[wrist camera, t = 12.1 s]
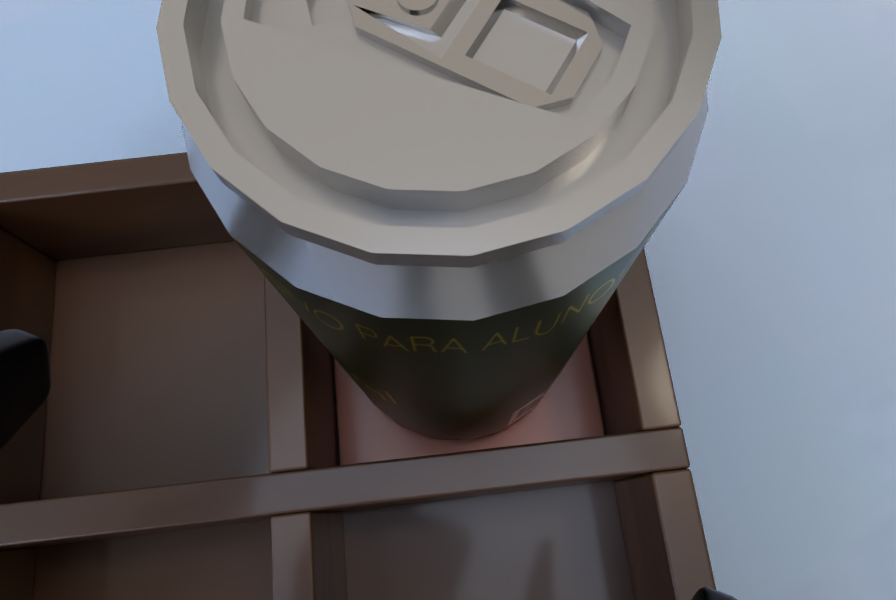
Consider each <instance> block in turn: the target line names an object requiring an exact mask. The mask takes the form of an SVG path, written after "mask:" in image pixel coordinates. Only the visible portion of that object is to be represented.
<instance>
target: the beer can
mask: <svg viewBox="0 0 896 600" xmlns="http://www.w3.org/2000/svg"><path fill="white" fill-rule="evenodd" d="M156 28H157V34H158V39H159V45H160V51H161V56H162V62H163V68H164V74H165V79H166V85H167V91H168V96H169V101H170V103H171V104H172V106H173V107H174V109H175V111H176V112H177V114H178V115H179V117H180V119H181V121H182V127H183V132H184V138H185V144H186V149H187V155H188V160H189V166H190V170H191V172H192V173H193V175H194V177H195V178H196V180H197V182H198V183H199V185H200V187H201V188H202V190H203V191H204V193H205V195H206V196H207V198H208V200H209V201H210V203H211V205H212V206H213V208H214V209H215V211H216V213H217V214H218V216H219V218H220V219H221V221H222V223H223V224H224V226H225V227H226V229H227V231H228V232H229V234H230V236H231V237H232V238H233V239H234V240H235V241H236V243H237V244H238V245H239V246H240V247H241V249H242V250H243V251H244V252H245V253H246V254H247V256H248V257H249V258H250V259H251V260H252V261H253V263H254V264H255V265H256V266H257V267H258V269H259V270H260V271H261V272H262V273H263V274H264V276H265V277H266V278H267V279H268V280H269V281H270V283H271V284H272V285H273V286H274V287H275V288H276V290H277V291H278V292H279V293H280V294H281V296H282V297H283V298H284V299H285V300H286V301H287V303H288V304H289V305H290V306H291V307H292V308H293V310H294V311H295V312H296V313H297V314H298V316H299V317H300V318H301V319H302V320H303V321H304V323H305V324H306V325H307V326H308V327H309V328H310V330H311V331H312V332H313V333H314V334H315V336H316V337H317V338H318V339H319V340H320V341H321V343H322V344H323V345H324V346H325V347H326V348H327V350H328V351H329V352H330V353H331V354H332V355H333V357H334V358H335V359H336V360H337V361H338V363H339V364H340V365H341V366H342V367H343V368H344V370H345V371H346V372H347V373H348V374H349V375H350V377H351V378H352V379H353V380H354V381H355V383H356V384H357V385H358V386H359V387H360V388H361V390H362V391H363V392H364V393H365V394H366V395H367V397H368V398H369V399H370V400H371V401H372V403H373V404H374V405H376V406H377V407H378V408H379V409H381V410H382V411H383V412H384V413H386V414H387V415H388V416H389V417H390V418H392V419H393V420H394V421H395V422H397V423H398V424H399V425H400V426H403V427H405V428H408V429H410V430H413V431H416V432H418V433H421V434H424V435H426V436H429V437H432V438H439V439H463V440H471V439H474V438H478V437H481V436H485V435H488V434H492V433H495V432H499V431H502V430H505V429H506V428H508V427H509V426H511V425H512V424H513V423H515V422H516V421H518V420H519V419H521V418H522V417H524V416H525V415H527V414H528V413H530V412H531V411H532V410H534V408H535V407H536V406H537V404H538V403H539V402H540V400H541V399H542V398H543V396H544V395H545V394H546V392H547V391H548V390H549V388H550V387H551V386H552V384H553V383H554V382H555V380H556V379H557V377H558V376H559V374H560V373H561V371H562V370H563V368H564V367H565V365H566V364H567V362H568V361H569V359H570V358H571V356H572V355H573V353H574V352H575V350H576V348H577V347H578V345H579V344H580V342H581V341H582V339H583V338H584V336H585V335H586V333H587V332H588V330H589V329H590V327H591V326H592V324H593V323H594V321H595V320H596V318H597V317H598V315H599V314H600V312H601V311H602V309H603V308H604V306H605V305H606V303H607V302H608V300H609V299H610V297H611V296H612V294H613V293H614V291H615V290H616V288H617V287H618V285H619V284H620V282H621V281H622V279H623V278H624V276H625V275H626V273H627V272H628V270H629V269H630V267H631V266H632V264H633V263H634V261H635V260H636V258H637V257H638V255H639V253H640V252H641V250H642V249H643V247H644V246H645V244H646V243H647V241H648V240H649V238H650V237H651V235H652V234H653V232H654V231H655V229H656V228H657V226H658V225H659V223H660V222H661V220H662V219H663V217H664V216H665V214H666V213H667V211H668V210H669V208H670V207H671V205H672V204H673V202H674V201H675V199H676V198H677V196H678V195H679V193H680V192H681V190H682V189H683V187H684V186H685V184H686V183H687V180H688V176H689V173H690V170H691V166H692V163H693V160H694V156H695V153H696V149H697V146H698V143H699V139H700V136H701V133H702V129H703V126H704V123H705V119H706V116H707V112H708V100H707V88H706V87H707V83H708V80H709V77H710V73H711V70H712V67H713V63H714V60H715V57H716V53H717V50H718V47H719V43H720V40H721V28H720V18H719V7H718V0H162V3H161V8H160V13H159V18H158V22H157V27H156Z"/></svg>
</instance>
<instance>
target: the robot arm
mask: <svg viewBox="0 0 896 600" xmlns="http://www.w3.org/2000/svg"><path fill="white" fill-rule="evenodd" d="M50 389H51V375H50V361H49V348H48V344H47V343H46V341H45V340H44V339H43V338H42V337H40V336H37V335H34V334H32V333H29V332H26V331H24V330H20V329H8V330H3V331H0V451H1V450H2V449H3V448H4V447H5V445H6V444H7V443H8V442H9V441H10V440H11V439H12V438H13V437H14V436H15V434H16V433H17V432H18V431H19V430H20V429H21V428H22V427H23V426H24V425H25V423H26V422H27V421H28V420H29V419H30V418H31V417H32V416H33V415H34V414H35V413H36V411H37V410H38V409H39V408H40V407H41V406H42V405H43V403H44V402H45V401H46V399H47V397H48V395H49V393H50ZM691 600H737V599H736V598H734V597H732V596H730V595H727V594H724V593H722V592H719V591H716V590H714V589H711V588H708V587H702V588H700V589H699V590H698V591H697V592H696V593H695V595H694V596H693V598H692V599H691Z"/></svg>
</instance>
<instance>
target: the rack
mask: <svg viewBox="0 0 896 600" xmlns="http://www.w3.org/2000/svg"><path fill="white" fill-rule="evenodd" d="M8 329H20V330H24V331H26V332H29V333H32V334H34V335H37V336H40V337H42V338H43V339H44V340H45V341H46V343H47V344H48V348H49V361H50V375H51V389H50V393H49V395H48V397H47V399H46V401H45V402H44V403H43V405H42V406H41V407H40V408H39V409H38V410H37V411H36V413H35V414H34V415H33V416H32V417H31V418H30V419H29V420H28V421H27V422H26V423H25V425H24V426H23V427H22V428H21V429H20V430H19V431H18V432H17V433H16V434H15V436H14V437H13V438H12V439H11V440H10V441H9V442H8V443H7V444H6V445H5V447H4V448H3V449H2V450H1V451H0V600H691V599H692V598H693V596H694V595H695V593H696V592H697V591H698V590H699V589H700V588H702V587H708V588H711V589H714V590H716V587H715V582H714V577H713V572H712V568H711V563H710V558H709V554H708V549H707V544H706V540H705V535H704V530H703V525H702V521H701V516H700V511H699V507H698V502H697V497H696V493H695V488H694V483H693V478H692V474H691V471H690V470H689V469H687V468H688V467H689V466H690V463H689V458H688V454H687V449H686V444H685V440H684V435H683V430H682V428H681V427H679V426H681V421H680V416H679V411H678V407H677V402H676V397H675V392H674V388H673V383H672V378H671V374H670V369H669V364H668V360H667V355H666V350H665V346H664V341H663V336H662V331H661V327H660V322H659V317H658V313H657V308H656V303H655V299H654V294H653V289H652V284H651V280H650V275H649V270H648V266H647V261H646V256H645V252H644V247H643V249H642V250H641V252H640V253H639V255H638V257H637V258H636V260H635V261H634V263H633V264H632V266H631V267H630V269H629V270H628V272H627V273H626V275H625V276H624V278H623V279H622V281H621V282H620V284H619V285H618V287H617V288H616V290H615V291H614V293H613V294H612V296H611V297H610V299H609V300H608V302H607V303H606V305H605V306H604V308H603V309H602V311H601V312H600V314H599V315H598V317H597V318H596V320H595V321H594V323H593V324H592V326H591V327H590V329H589V330H588V332H587V333H586V335H585V336H584V338H583V339H582V341H581V342H580V344H579V345H578V347H577V348H576V350H575V352H574V353H573V355H572V356H571V358H570V359H569V361H568V362H567V364H566V365H565V367H564V368H563V370H562V371H561V373H560V374H559V376H558V377H557V379H556V380H555V382H554V383H553V384H552V386H551V387H550V388H549V390H548V391H547V392H546V394H545V395H544V396H543V398H542V399H541V400H540V402H539V403H538V404H537V406H536V407H535V408H534V410H532V411H531V412H530V413H528V414H527V415H525V416H524V417H522V418H521V419H519V420H518V421H516V422H515V423H513V424H512V425H511V426H509V427H508V428H506V429H505V430H502V431H499V432H495V433H492V434H488V435H485V436H481V437H478V438H474V439H471V440H463V439H439V438H432V437H429V436H426V435H424V434H421V433H418V432H416V431H413V430H410V429H408V428H405V427H403V426H400V425H399V424H398V423H397V422H395V421H394V420H393V419H392V418H390V417H389V416H388V415H387V414H386V413H384V412H383V411H382V410H381V409H379V408H378V407H377V406H376V405H374V404H373V403H372V401H371V400H370V399H369V398H368V397H367V395H366V394H365V393H364V392H363V391H362V390H361V388H360V387H359V386H358V385H357V384H356V383H355V381H354V380H353V379H352V378H351V377H350V375H349V374H348V373H347V372H346V371H345V370H344V368H343V367H342V366H341V365H340V364H339V363H338V361H337V360H336V359H335V358H334V357H333V355H332V354H331V353H330V352H329V351H328V350H327V348H326V347H325V346H324V345H323V344H322V343H321V341H320V340H319V339H318V338H317V337H316V336H315V334H314V333H313V332H312V331H311V330H310V328H309V327H308V326H307V325H306V324H305V323H304V321H303V320H302V319H301V318H300V317H299V316H298V314H297V313H296V312H295V311H294V310H293V308H292V307H291V306H290V305H289V304H288V303H287V301H286V300H285V299H284V298H283V297H282V296H281V294H280V293H279V292H278V291H277V290H276V288H275V287H274V286H273V285H272V284H271V283H270V281H269V280H268V279H267V278H266V277H265V276H264V274H263V273H262V272H261V271H260V270H259V269H258V267H257V266H256V265H255V264H254V263H253V261H252V260H251V259H250V258H249V257H248V256H247V254H246V253H245V252H244V251H243V250H242V249H241V247H240V246H239V245H238V244H237V243H236V241H235V240H234V239H233V238H232V237H231V236H230V234H229V232H228V231H227V229H226V227H225V226H224V224H223V223H222V221H221V219H220V218H219V216H218V214H217V213H216V211H215V209H214V208H213V206H212V205H211V203H210V201H209V200H208V198H207V196H206V195H205V193H204V191H203V190H202V188H201V187H200V185H199V183H198V182H197V180H196V178H195V177H194V175H193V173H192V172H191V170H190V166H189V160H188V155H187V152H186V153H177V154H168V155H158V156H149V157H140V158H131V159H122V160H113V161H104V162H95V163H86V164H77V165H68V166H59V167H50V168H40V169H31V170H22V171H13V172H4V173H0V331H3V330H8Z"/></svg>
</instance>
